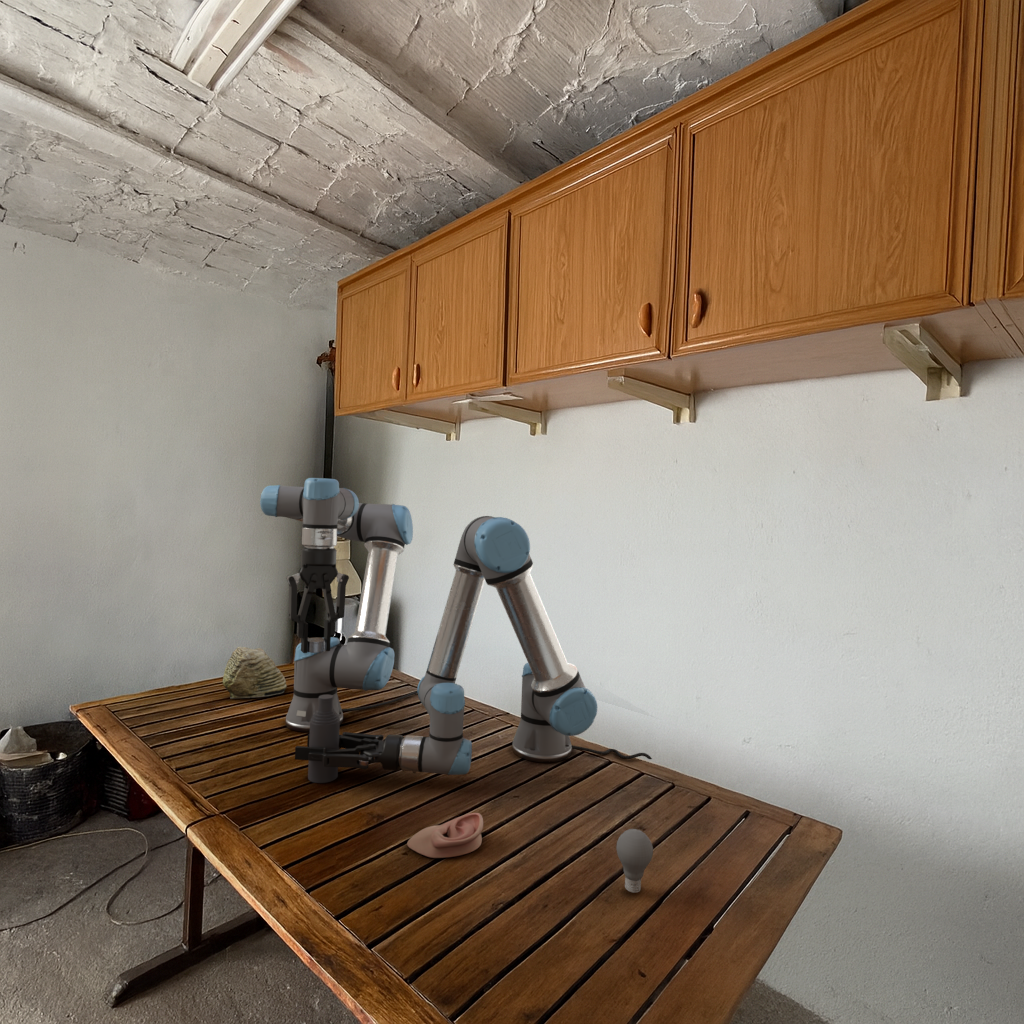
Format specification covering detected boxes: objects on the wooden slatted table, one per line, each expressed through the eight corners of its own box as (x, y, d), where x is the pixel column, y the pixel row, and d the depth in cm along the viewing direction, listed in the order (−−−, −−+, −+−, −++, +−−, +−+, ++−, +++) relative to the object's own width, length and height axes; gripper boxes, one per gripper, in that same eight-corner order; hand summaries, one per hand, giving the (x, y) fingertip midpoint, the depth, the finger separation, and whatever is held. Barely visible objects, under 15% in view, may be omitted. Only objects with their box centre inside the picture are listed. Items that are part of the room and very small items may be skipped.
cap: (320, 647, 145) (320, 636, 145) (329, 651, 142) (330, 640, 142) (301, 649, 142) (302, 639, 142) (311, 653, 139) (311, 642, 139)
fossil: (218, 695, 195) (220, 647, 195) (278, 685, 208) (279, 640, 207) (228, 703, 189) (230, 653, 188) (289, 692, 201) (290, 645, 201)
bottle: (329, 784, 139) (332, 702, 139) (302, 781, 141) (305, 699, 140) (342, 772, 146) (345, 693, 145) (316, 769, 147) (319, 691, 147)
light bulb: (610, 879, 108) (613, 822, 108) (644, 879, 109) (647, 822, 109) (619, 902, 102) (622, 840, 102) (655, 901, 103) (658, 840, 103)
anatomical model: (401, 831, 114) (423, 801, 125) (400, 853, 114) (422, 821, 125) (472, 842, 111) (488, 811, 122) (471, 864, 111) (487, 831, 122)
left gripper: (282, 548, 134) (278, 658, 134) (362, 548, 143) (358, 651, 144) (275, 545, 140) (271, 650, 141) (352, 545, 149) (348, 643, 150)
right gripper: (391, 789, 132) (283, 781, 134) (411, 752, 152) (317, 746, 153) (392, 753, 132) (284, 746, 134) (412, 721, 152) (318, 715, 153)
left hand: (315, 650), depth 142 cm, fingers closed on cap, 4 cm apart
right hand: (302, 746), depth 143 cm, fingers closed on bottle, 6 cm apart
